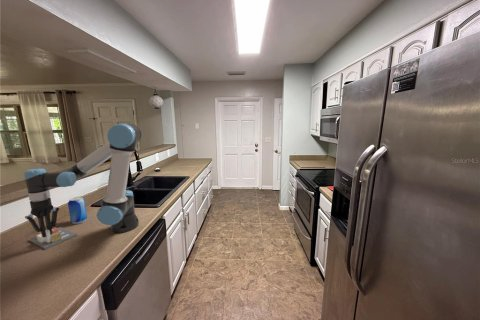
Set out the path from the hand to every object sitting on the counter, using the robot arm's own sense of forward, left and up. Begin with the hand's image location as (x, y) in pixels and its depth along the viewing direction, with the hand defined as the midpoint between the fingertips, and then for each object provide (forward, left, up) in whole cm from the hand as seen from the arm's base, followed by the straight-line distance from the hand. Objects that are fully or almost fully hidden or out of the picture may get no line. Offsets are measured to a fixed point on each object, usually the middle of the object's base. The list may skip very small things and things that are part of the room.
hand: (48, 241), depth 104 cm
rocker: (+11, -4, +1) cm, 12 cm away
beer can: (+15, -21, -2) cm, 26 cm away
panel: (+6, -4, -2) cm, 7 cm away
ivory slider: (+5, 0, -1) cm, 5 cm away
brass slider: (0, -3, -1) cm, 3 cm away
